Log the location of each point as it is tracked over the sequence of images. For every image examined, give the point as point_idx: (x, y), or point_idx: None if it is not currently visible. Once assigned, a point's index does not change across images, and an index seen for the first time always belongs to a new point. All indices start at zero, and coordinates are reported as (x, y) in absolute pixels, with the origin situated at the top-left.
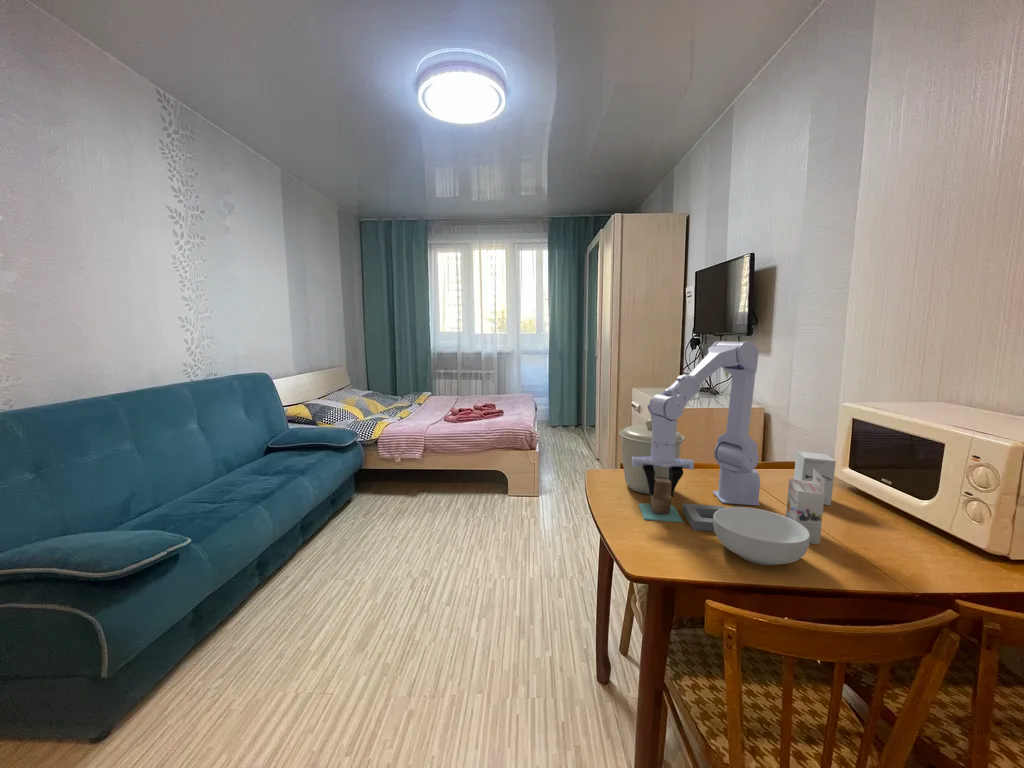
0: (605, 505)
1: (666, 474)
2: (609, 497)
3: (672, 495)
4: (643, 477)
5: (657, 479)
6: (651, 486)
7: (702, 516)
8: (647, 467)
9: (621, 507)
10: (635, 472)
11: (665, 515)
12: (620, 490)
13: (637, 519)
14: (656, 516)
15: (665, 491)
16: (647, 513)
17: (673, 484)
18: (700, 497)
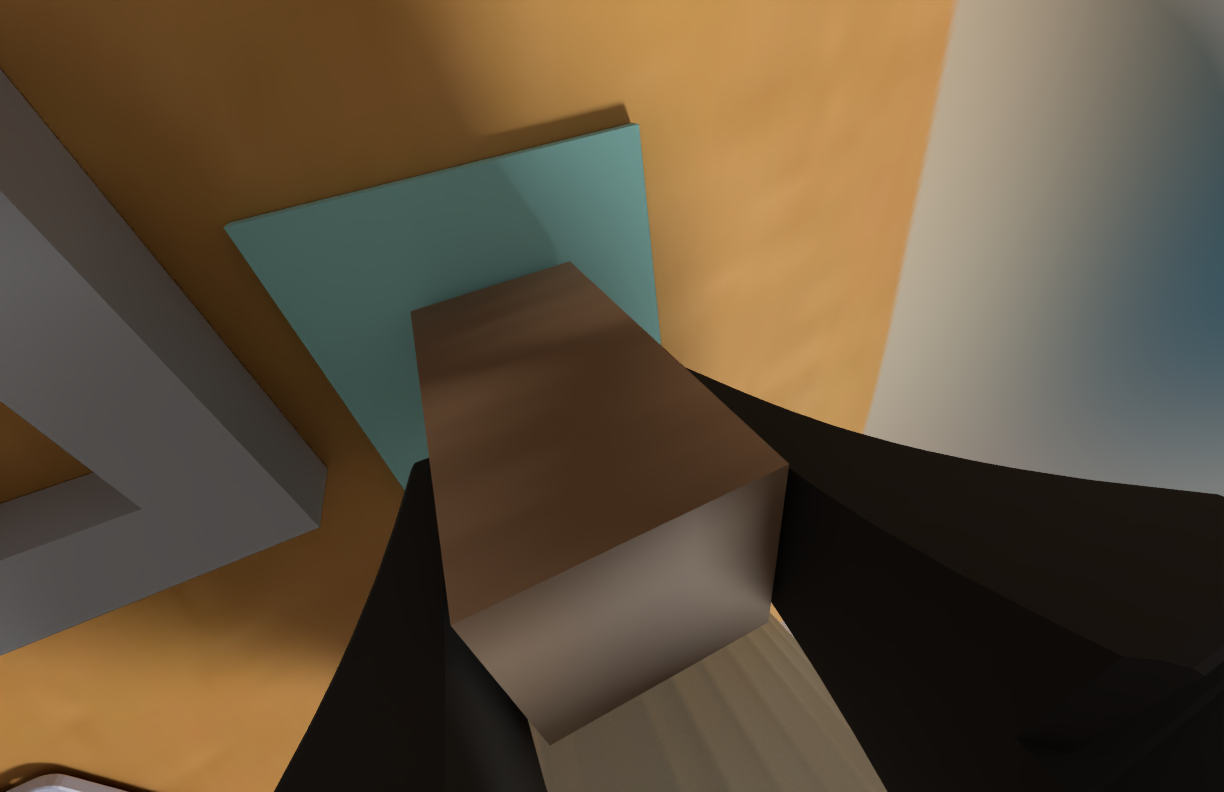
0: (859, 279)
1: (549, 775)
2: (809, 404)
3: (411, 475)
4: None
5: (714, 589)
6: (754, 412)
7: (78, 478)
8: (1198, 719)
9: (772, 299)
10: (768, 647)
11: (449, 287)
12: None
13: (688, 104)
14: (529, 220)
15: (524, 436)
16: (610, 254)
17: (407, 625)
18: (275, 724)
